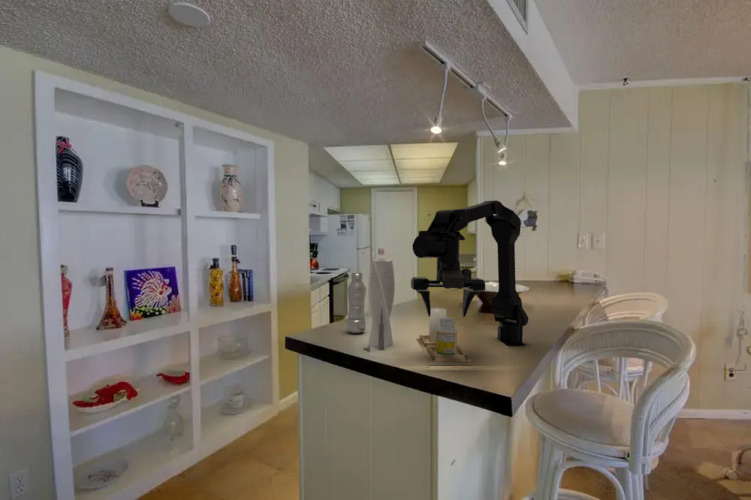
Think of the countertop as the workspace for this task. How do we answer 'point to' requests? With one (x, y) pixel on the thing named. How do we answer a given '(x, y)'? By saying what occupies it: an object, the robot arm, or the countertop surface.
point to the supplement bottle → (446, 337)
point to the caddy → (431, 355)
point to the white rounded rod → (435, 322)
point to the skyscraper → (381, 302)
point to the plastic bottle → (356, 304)
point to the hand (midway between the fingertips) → (446, 316)
